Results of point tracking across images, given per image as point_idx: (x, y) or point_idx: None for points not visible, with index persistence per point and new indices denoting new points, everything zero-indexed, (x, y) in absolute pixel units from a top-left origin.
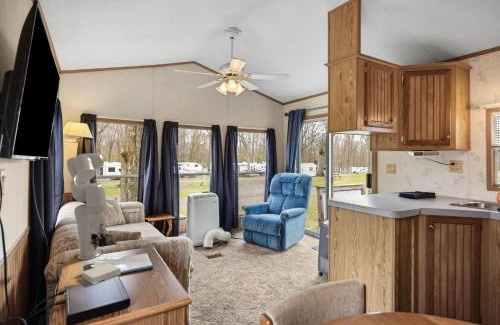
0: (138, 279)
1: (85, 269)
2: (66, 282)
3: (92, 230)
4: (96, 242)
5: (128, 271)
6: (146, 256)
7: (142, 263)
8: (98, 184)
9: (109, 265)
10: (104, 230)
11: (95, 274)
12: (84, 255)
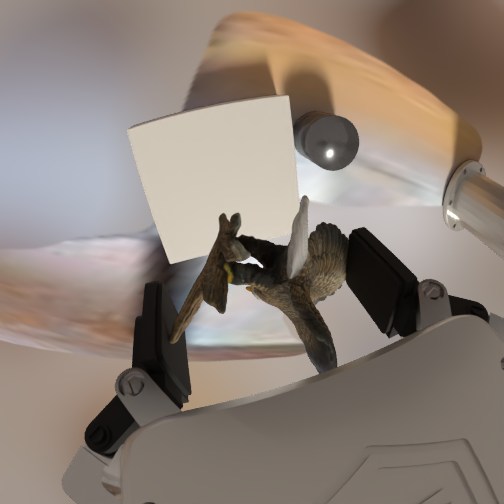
0: (71, 288)
1: (315, 120)
2: (283, 29)
3: (302, 454)
4: (204, 291)
5: (181, 276)
6: (290, 338)
7: (230, 324)
8: None
9: (261, 229)
10: (71, 493)
11: (176, 146)
12: (468, 181)
